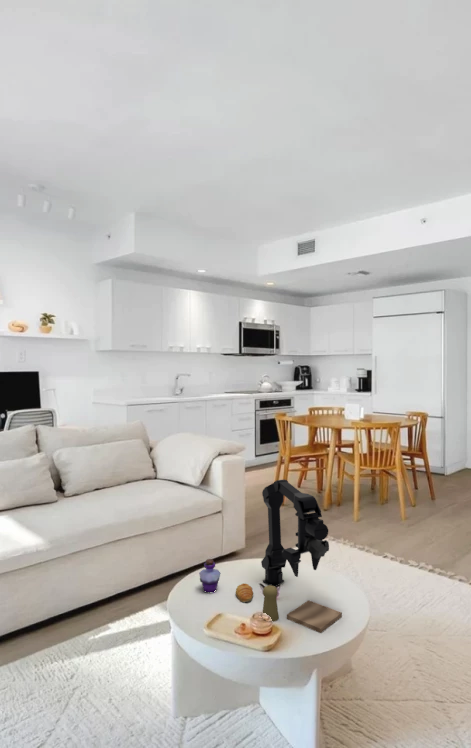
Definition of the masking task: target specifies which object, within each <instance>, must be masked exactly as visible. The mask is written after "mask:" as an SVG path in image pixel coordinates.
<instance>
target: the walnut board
mask: <svg viewBox="0 0 471 748" xmlns="http://www.w3.org/2000/svg"><path fill="white" fill-rule="evenodd" d="M342 617H343V612H341V611H339V610H336V609H333V608H331V607H328V606H325V605H322V604H320V603H318V602H315V601H312V600H306V601H305V602H303V603H302V604H301V605H299V606H297V607H296V608H295V609H292V610H291V611H289V613H287V614H286V620H288V621H291V622H292V623H295V624H298V625H301V626H303V627H306V628H308V629H310V630H312V631H314V632H317V633H319V634H322V633H323V632H324V631H326V630H327V629H328V628H329V627H331V626H332V625H334V624H335V623H336V622H337V621H339V620H340V619H341V618H342Z"/></svg>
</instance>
